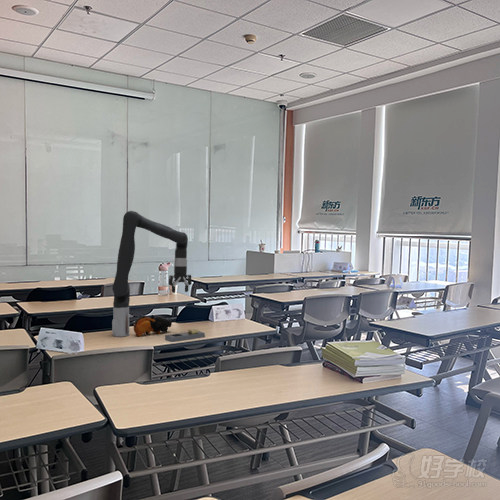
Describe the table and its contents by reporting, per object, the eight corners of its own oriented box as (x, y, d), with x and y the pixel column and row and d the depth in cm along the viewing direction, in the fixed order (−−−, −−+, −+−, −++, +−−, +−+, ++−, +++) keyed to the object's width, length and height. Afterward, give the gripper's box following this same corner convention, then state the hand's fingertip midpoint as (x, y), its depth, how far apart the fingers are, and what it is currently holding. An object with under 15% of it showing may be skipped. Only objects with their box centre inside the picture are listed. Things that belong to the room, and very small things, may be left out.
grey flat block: (171, 342, 279) (171, 337, 279) (165, 339, 285) (165, 335, 285) (204, 337, 293) (204, 332, 293) (197, 334, 299) (197, 330, 299)
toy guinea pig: (166, 345, 303) (174, 321, 306) (134, 335, 290) (143, 311, 293) (160, 342, 309) (168, 319, 312) (128, 333, 296) (137, 309, 299)
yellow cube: (191, 338, 289) (191, 330, 289) (188, 337, 293) (188, 329, 293) (197, 337, 292) (197, 329, 292) (194, 336, 295) (194, 328, 295)
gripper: (187, 264, 304) (187, 291, 304) (167, 265, 295) (166, 292, 296) (194, 265, 298) (193, 292, 298) (172, 266, 289) (172, 293, 290)
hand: (180, 292), depth 297 cm, fingers open, 8 cm apart
